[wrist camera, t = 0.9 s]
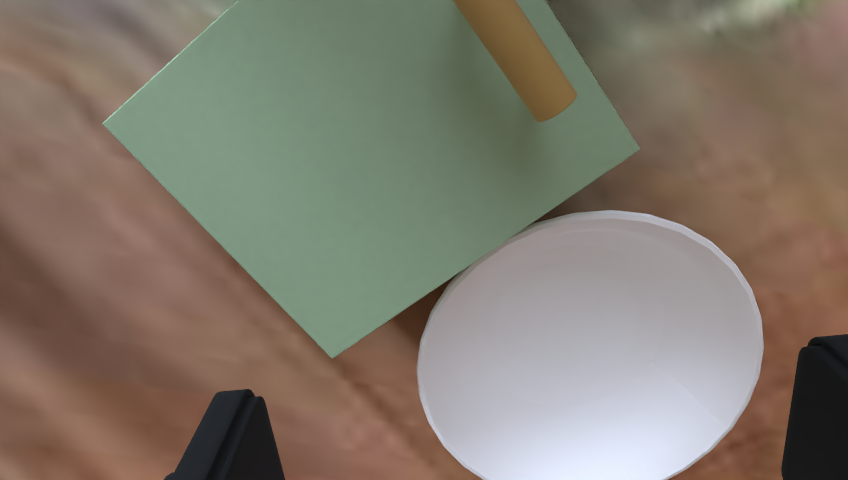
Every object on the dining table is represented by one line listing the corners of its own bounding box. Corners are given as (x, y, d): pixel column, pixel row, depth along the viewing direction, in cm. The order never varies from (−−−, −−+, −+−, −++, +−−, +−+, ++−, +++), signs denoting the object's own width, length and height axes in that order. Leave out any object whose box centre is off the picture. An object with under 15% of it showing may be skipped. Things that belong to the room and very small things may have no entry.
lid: (431, -172, 23) (433, -213, 18) (635, 145, 28) (677, 176, 23) (110, 120, 27) (46, 146, 23) (334, 351, 32) (319, 411, 27)
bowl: (497, 124, 35) (512, 151, 29) (776, 247, 38) (840, 294, 32) (373, 381, 42) (365, 445, 36) (617, 468, 45) (646, 539, 39)
